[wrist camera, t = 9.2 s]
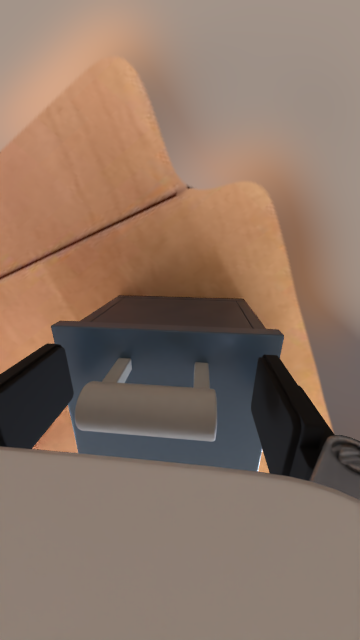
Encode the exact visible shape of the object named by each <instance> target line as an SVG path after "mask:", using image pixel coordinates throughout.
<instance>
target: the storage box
mask: <svg viewBox="0 0 360 640" xmlns="http://www.w3.org/2000/svg"><path fill="white" fill-rule="evenodd" d="M79 322H104V323H129V324H153V325H178V326H203V327H227V328H252V329H266V328H265V327H264V325H263V324H262V323H261V321H260V320H259V319H258V317H257V316H256V315H255V313H254V312H253V311H252V309H251V308H250V307H249V305H248V304H247V303H246V302H245V300H244V299H226V298H192V297H158V296H124V295H119V296H118V297H116V298H115V299H113V300H111V301H110V302H108V303H107V304H105V305H104V306H102V307H101V308H99V309H98V310H96V311H95V312H93V313H92V314H90V315H88V316H87V317H85V318H84V319H82V320H81V321H79Z"/></svg>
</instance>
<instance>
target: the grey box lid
mask: <svg viewBox="0 0 360 640" xmlns="http://www.w3.org/2000/svg"><path fill="white" fill-rule="evenodd" d="M51 328H52V333H53V338H54V342H55V344H60V345H61V346H62V347H63V348H64V349H65V352H66V357H67V361H68V366H69V371H70V376H71V381H72V386H73V391H74V395H73V398H72V400H71V401H70V402H69V404H68V407H69V412H70V416H71V421H72V425H73V430H74V435H75V439H76V444H77V449H78V453H80V454H91V455H101V456H112V457H122V458H133V459H143V460H153V461H163V462H173V463H183V464H193V465H203V466H213V467H221V468H230V469H238V470H247V471H255V472H258V469H259V464H260V458H261V453H262V446H261V442H260V439H259V436H258V432H257V429H256V426H255V422H254V419H253V416H252V412H251V401H252V395H253V388H254V382H255V375H256V369H257V362H258V358H259V357H262V356H263V355H264V354H265V355H277V356H278V357H279V358H280V354H281V349H282V344H283V339H284V335H283V334H282V333H281V332H280V331H279V330H276V329H252V328H227V327H203V326H178V325H153V324H129V323H104V322H79V321H59V322H57V323H55V324H53V325H52V326H51Z"/></svg>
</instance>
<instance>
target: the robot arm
mask: <svg viewBox="0 0 360 640" xmlns="http://www.w3.org/2000/svg"><path fill="white" fill-rule="evenodd" d="M73 395H74V391H73V386H72V381H71V376H70V371H69V366H68V361H67V357H66V352H65V349H64V348H63V347H62V346H61V345H60V344H46V345H44V346H43V347H41V348H39V349H38V350H36V351H35V352H33V353H32V354H30V355H29V356H27V357H26V358H24V359H23V360H21V361H20V362H18V363H17V364H15V365H14V366H12V367H11V368H9V369H8V370H6V371H5V372H3V373H2V374H0V640H360V441H358V440H355V439H353V438H350V437H347V436H343V435H334V433H333V432H332V431H331V429H330V428H329V426H328V425H327V423H326V422H325V420H324V419H323V418H322V416H321V415H320V413H319V412H318V410H317V409H316V408H315V406H314V405H313V403H312V402H311V400H310V399H309V398H308V396H307V395H306V393H305V392H304V390H303V389H302V388H301V387H300V386H298V385H297V383H296V382H295V380H294V379H293V378H292V376H291V375H290V373H289V372H288V370H287V369H286V367H285V366H284V364H283V363H282V361H281V360H280V358H279V357H278V356H277V355H265V354H264V355H263V356H262V357H259V358H258V362H257V369H256V375H255V382H254V388H253V395H252V401H251V412H252V416H253V419H254V422H255V426H256V429H257V432H258V436H259V439H260V442H261V446H262V449H263V452H264V456H265V459H266V462H267V466H268V469H269V472H270V473H264V472H255V471H247V470H238V469H230V468H221V467H213V466H203V465H193V464H183V463H173V462H163V461H153V460H143V459H133V458H122V457H112V456H101V455H91V454H80V453H69V452H58V451H47V450H36V449H32V448H33V446H34V445H35V444H36V443H37V441H38V440H39V439H40V438H41V437H42V435H43V434H44V433H45V432H46V430H47V429H48V428H49V427H50V426H51V424H52V423H53V422H54V421H55V419H56V418H57V417H58V416H59V415H60V413H61V412H62V411H63V410H64V408H65V407H66V406H67V405H68V404H69V402H70V401H71V400H72V398H73Z"/></svg>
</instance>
